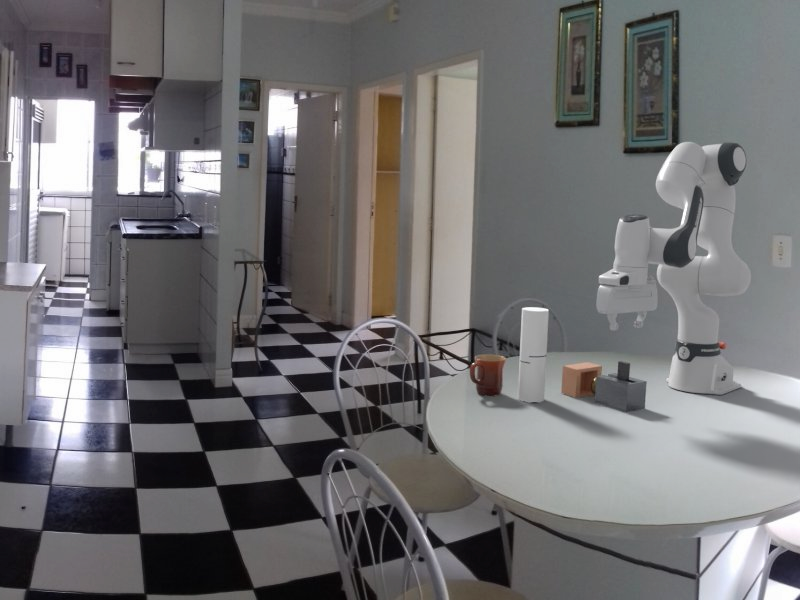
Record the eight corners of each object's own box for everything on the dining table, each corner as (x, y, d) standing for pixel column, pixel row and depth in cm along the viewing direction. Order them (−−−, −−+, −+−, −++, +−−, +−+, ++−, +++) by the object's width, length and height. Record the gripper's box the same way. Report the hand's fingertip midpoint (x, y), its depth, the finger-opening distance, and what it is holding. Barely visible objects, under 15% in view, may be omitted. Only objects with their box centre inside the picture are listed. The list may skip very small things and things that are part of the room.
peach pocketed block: (586, 389, 232) (587, 362, 231) (600, 393, 228) (601, 365, 227) (561, 393, 227) (562, 365, 226) (575, 397, 222) (576, 369, 221)
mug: (487, 388, 231) (489, 353, 229) (511, 394, 224) (512, 358, 223) (458, 394, 223) (459, 358, 222) (481, 401, 217) (483, 364, 215)
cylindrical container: (543, 403, 216) (548, 312, 212) (516, 401, 217) (521, 310, 214) (544, 396, 223) (549, 308, 219) (518, 394, 224) (522, 306, 220)
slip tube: (602, 392, 224) (604, 355, 222) (636, 403, 214) (639, 363, 213) (589, 395, 221) (592, 356, 220) (624, 405, 211) (626, 365, 210)
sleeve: (613, 398, 222) (615, 372, 221) (644, 408, 213) (646, 381, 212) (594, 402, 218) (596, 375, 217) (625, 412, 209) (627, 384, 208)
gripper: (646, 274, 219) (642, 324, 221) (594, 276, 207) (590, 329, 209) (665, 276, 213) (661, 328, 215) (612, 279, 202) (609, 333, 204)
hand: (626, 328), depth 212 cm, fingers open, 8 cm apart
